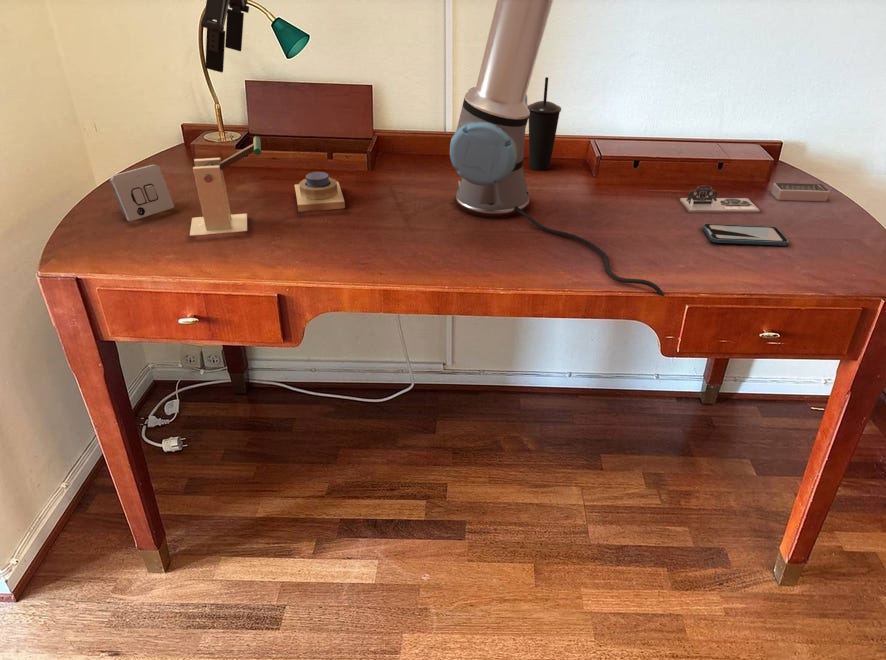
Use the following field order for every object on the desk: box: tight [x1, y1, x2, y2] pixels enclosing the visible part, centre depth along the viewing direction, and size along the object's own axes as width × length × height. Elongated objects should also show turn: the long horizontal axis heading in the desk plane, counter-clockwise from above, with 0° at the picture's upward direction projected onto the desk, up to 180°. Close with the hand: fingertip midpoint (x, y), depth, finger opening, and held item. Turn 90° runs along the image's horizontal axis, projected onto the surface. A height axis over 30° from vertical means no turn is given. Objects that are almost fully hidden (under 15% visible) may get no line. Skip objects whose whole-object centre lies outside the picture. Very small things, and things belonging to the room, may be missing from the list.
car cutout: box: [679, 184, 761, 213], centre depth 144 cm, size 15×7×4 cm, turn 94°
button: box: [305, 171, 330, 188], centre depth 137 cm, size 4×4×2 cm
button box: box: [294, 177, 346, 213], centre depth 138 cm, size 9×11×4 cm
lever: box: [204, 135, 262, 170], centre depth 122 cm, size 12×7×2 cm, turn 104°
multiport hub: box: [770, 182, 831, 202], centre depth 150 cm, size 4×11×2 cm, turn 90°
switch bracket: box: [189, 157, 248, 237], centre depth 125 cm, size 10×8×13 cm
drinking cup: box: [527, 76, 562, 171], centre depth 156 cm, size 8×8×20 cm
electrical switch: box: [108, 164, 175, 222], centre depth 130 cm, size 9×5×9 cm, turn 141°
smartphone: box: [702, 223, 790, 247], centre depth 132 cm, size 7×1×15 cm
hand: (224, 59), depth 120 cm, fingers open, 13 cm apart
